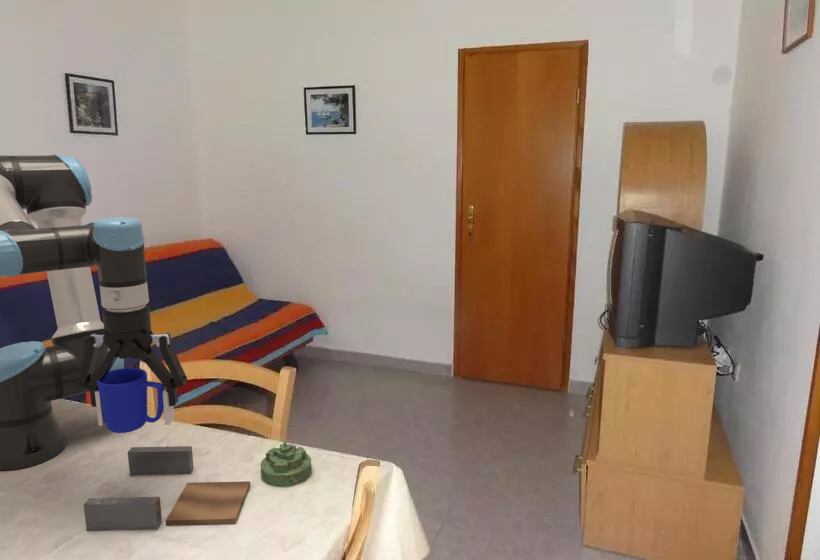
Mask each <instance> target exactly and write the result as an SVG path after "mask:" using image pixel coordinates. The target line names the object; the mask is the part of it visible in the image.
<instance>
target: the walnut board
mask: <svg viewBox="0 0 820 560" xmlns="http://www.w3.org/2000/svg"><path fill="white" fill-rule="evenodd" d="M250 487H251V481H248V480H247V481H205V482H204V481H201V482H197V481H196V482H186V484H185V486H184V488H183V490H182V491H181V492H180V495H178V496H179V497H178V498H177V500H176V501H175V503H174V505H173V507H172V509H171V510H170V512H169V514H168V515H167V517H166V519H165V526H197V525H199V526H201V525H204V526H206V525H237V524H236V523H237V521H238V519H239V516H240V513H241V511H242V508H243V506H244V503H245V501H246V498H247V495H248V493H249V490H250Z"/></svg>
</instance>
